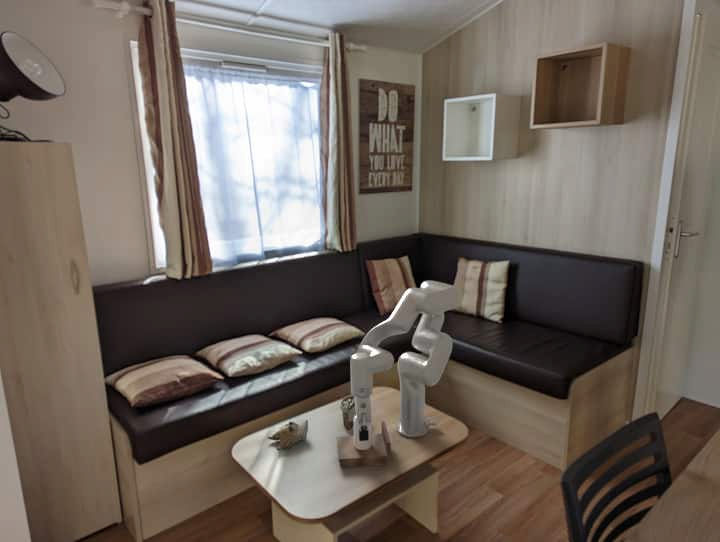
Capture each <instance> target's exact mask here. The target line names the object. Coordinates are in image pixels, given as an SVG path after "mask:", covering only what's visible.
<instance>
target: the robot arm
mask: <svg viewBox="0 0 720 542" xmlns="http://www.w3.org/2000/svg"><path fill="white" fill-rule="evenodd" d="M461 299H462V294H461V290H460V289H459V288H458V287H457V286H455V285H452V284H448V283H445V282H441V281H437V280H436V281H435V280H424V281H423V282H422V283H421V284H420V287H410V288H407V290H405V291H404V293H403V294H402V297H401V298H400V300H399V301H398V303H397V304H396V306H395V308H394V309H393V310H392V312H391V314H390V316H389V317H388V318H387V319H386V320H384V321H382V322H381V323H379V324H377V325H375V326H374V327H373V328H371V329H370V330H369V331H368V332H367V334H366V335H365V336H364V338H363V339H362V341H361V342H360V344H359V346H358V349H357V351H356V353H354V354H352V355H351V356H350V360H349V363H350V393H351V395H353V396H354V399H355V412H356V417H357V422H358V423H359V425H360V430H359V441H367V440H369V434H368V423H371V419H372V408H371V407H372V406H371V405H372V404H371V396H372V394H373V392H374V391H373V375H374V374H379V373H384V372H388V371H390V370H391V369H392V367H394V364H395V358H394V355H393V354H392V353H391V352H390V351H388V350H386V349H383V348H381V347H378V346H379V344H380V343H381V342H382V341H383V340H385V339H387V338H389V337H392V336H398V335H403V334H406V333H408V332H409V331H410V330H411V328H412V326H413V324H414V323H415V322H416V320H417V318H418V316H419V315H420V314H422V315H421V317H420V320H419V323H418V324H417V327H416V329H415V331H414V334H413V336H412V340H411V345H412V347H413V348H414V349H416V350H417V351H418V352H422V353H424V354H426V355H429V356H428V357H426V356H424V355H421V354H419V353H416V352H412V351H406V352H403V353H402V354H401V355H400V356H399V357H398V361H397V364H396V365H397V366H396V367H397V372H398V376H399V387H400V388H399V421H397V423H396V426H395V430H396V432H397V433H398V434H399V435H401V436H403V437H405V438H411V439H412V438H413V439H414V438H421V437H424V436H425V435H427V434H428V432H429V426H437V425H438V424H437V423H438V421H437V419H433V418H432V417H425V415H426V414H425V413H426V412H425V410H426V409H425V406H426V398H425V397H426V386H427V387H433V386H435V385H437V384H438V383H439V382H440V379H441V377H442V375H443V373H444V370H445V369H446V365H447V363H448V361H449V359H450V356H451V353H452V351H453V339H452V338H451V336H450V335H449V334H447V333H445V332H442V331H441V329H442V327H443V324H444V322H445V313H444V312H447V311H450V310H452V309H455V308H456V307H457V306H458V305H459V304H460V302H461ZM361 415H362V416H361ZM360 420H362V421H360ZM367 421H368V423H367ZM361 424H363V426H362V427H361Z"/></svg>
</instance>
